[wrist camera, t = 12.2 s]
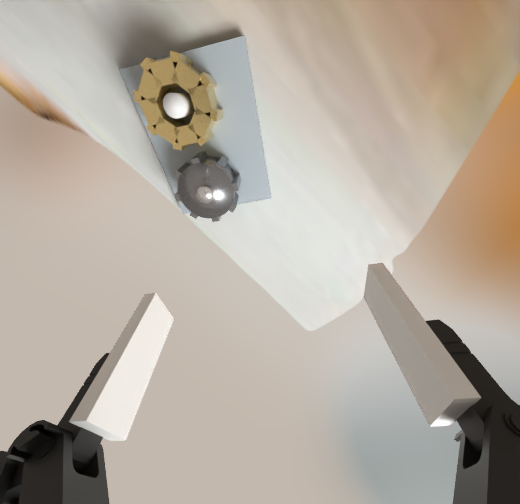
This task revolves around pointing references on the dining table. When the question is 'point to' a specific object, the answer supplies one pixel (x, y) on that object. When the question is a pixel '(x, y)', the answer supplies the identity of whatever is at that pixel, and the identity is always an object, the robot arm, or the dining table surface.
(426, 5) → the dining table surface
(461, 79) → the dining table surface
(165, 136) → the gear
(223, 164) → the gear
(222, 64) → the gear board
